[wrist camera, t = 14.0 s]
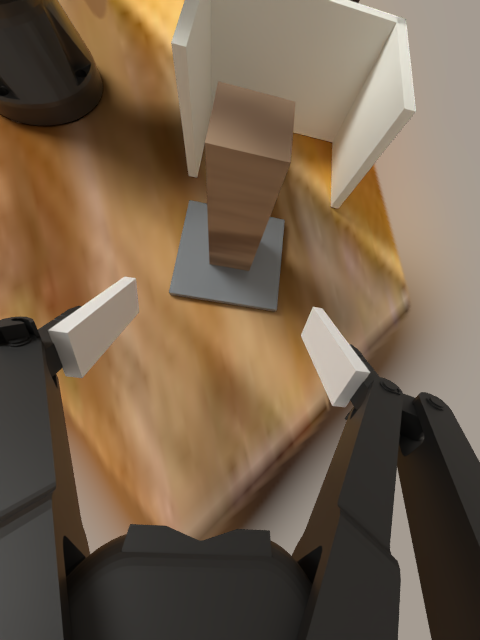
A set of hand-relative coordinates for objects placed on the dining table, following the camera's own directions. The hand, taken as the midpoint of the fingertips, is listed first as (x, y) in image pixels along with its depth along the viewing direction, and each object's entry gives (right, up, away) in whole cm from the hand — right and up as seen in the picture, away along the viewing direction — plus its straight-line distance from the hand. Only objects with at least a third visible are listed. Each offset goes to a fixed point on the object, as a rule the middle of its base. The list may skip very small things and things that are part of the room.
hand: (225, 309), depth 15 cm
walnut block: (0, +8, +10) cm, 13 cm away
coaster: (0, +7, +11) cm, 13 cm away
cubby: (+6, +24, +15) cm, 29 cm away
